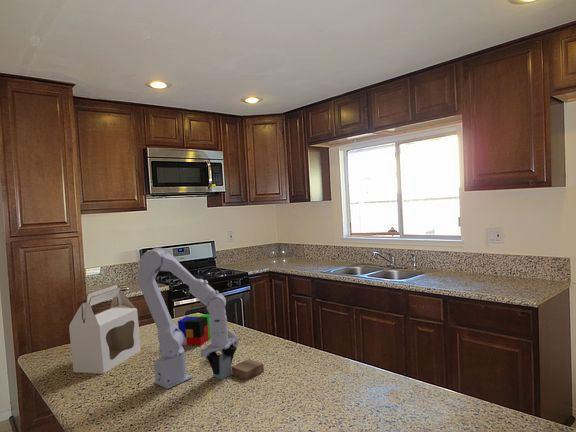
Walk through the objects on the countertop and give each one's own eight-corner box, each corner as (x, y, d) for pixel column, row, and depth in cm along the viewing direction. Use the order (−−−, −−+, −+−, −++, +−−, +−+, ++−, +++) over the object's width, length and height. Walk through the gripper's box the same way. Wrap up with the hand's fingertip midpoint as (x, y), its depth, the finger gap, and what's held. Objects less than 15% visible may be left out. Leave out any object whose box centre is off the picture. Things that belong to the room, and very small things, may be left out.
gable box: (103, 374, 142) (95, 296, 141) (72, 372, 146) (65, 296, 145) (141, 350, 164) (135, 282, 163) (113, 349, 167) (107, 283, 166)
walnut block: (247, 381, 129) (246, 371, 129) (232, 375, 134) (231, 366, 134) (263, 372, 135) (263, 363, 135) (249, 367, 140) (248, 359, 140)
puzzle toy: (179, 344, 167) (177, 321, 167) (192, 336, 177) (190, 314, 176) (201, 345, 164) (199, 321, 164) (212, 337, 174) (210, 314, 174)
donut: (240, 354, 151) (238, 328, 151) (235, 357, 148) (233, 331, 148) (220, 351, 156) (218, 325, 156) (214, 354, 153) (212, 328, 153)
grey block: (221, 379, 131) (220, 361, 131) (212, 376, 134) (211, 358, 134) (232, 374, 134) (231, 356, 134) (223, 371, 137) (222, 353, 137)
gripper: (208, 339, 125) (212, 382, 126) (243, 326, 136) (246, 366, 137) (195, 335, 130) (198, 377, 131) (229, 323, 141) (232, 361, 141)
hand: (222, 371), depth 134 cm, fingers closed on grey block, 4 cm apart
